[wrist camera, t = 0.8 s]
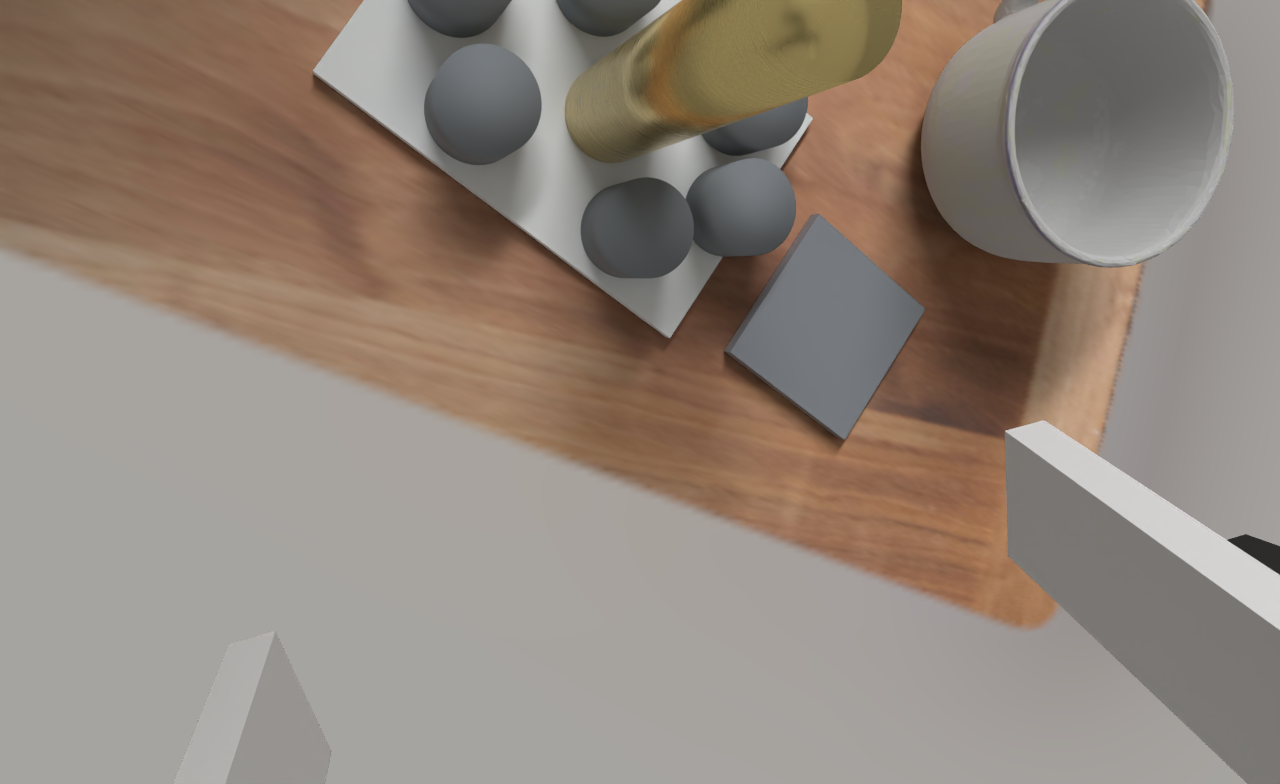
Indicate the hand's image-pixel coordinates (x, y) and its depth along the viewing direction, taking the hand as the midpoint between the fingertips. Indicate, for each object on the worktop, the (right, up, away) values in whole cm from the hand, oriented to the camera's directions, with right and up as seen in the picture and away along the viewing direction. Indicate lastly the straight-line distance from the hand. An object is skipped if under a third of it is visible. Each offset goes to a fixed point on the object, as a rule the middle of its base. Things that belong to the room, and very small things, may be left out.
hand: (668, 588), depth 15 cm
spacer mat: (-3, +15, +17) cm, 23 cm away
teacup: (+15, +16, +24) cm, 33 cm away
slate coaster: (+8, +6, +22) cm, 25 cm away
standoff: (-2, +14, +17) cm, 22 cm away
